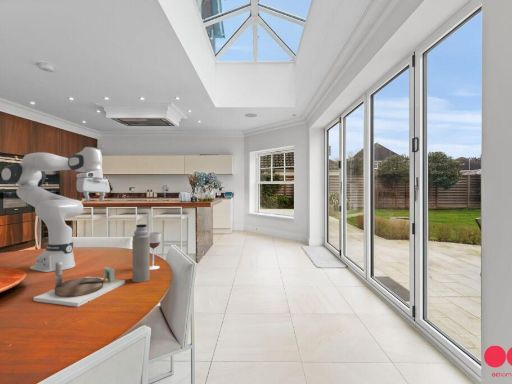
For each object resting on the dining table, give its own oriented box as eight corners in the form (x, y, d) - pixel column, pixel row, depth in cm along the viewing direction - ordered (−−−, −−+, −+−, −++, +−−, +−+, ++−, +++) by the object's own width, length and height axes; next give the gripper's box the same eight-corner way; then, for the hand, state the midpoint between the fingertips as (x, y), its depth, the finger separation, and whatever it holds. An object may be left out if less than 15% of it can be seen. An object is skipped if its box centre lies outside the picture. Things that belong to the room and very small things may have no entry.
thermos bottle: (140, 276, 145) (140, 223, 145) (152, 278, 143) (153, 224, 142) (128, 281, 138) (129, 225, 137) (141, 283, 135) (142, 226, 135)
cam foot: (111, 279, 134) (111, 255, 134) (103, 293, 117) (103, 265, 116) (63, 283, 128) (63, 257, 127) (46, 298, 110) (47, 268, 110)
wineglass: (152, 270, 155) (152, 235, 155) (142, 268, 160) (142, 233, 160) (163, 267, 162) (164, 233, 162) (153, 264, 167) (154, 231, 166)
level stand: (33, 300, 112) (33, 282, 112) (87, 279, 139) (87, 264, 139) (77, 306, 108) (78, 287, 108) (124, 283, 134) (124, 268, 134)
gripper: (102, 178, 163) (103, 201, 163) (73, 174, 143) (74, 201, 143) (112, 177, 162) (113, 200, 161) (84, 173, 142) (85, 199, 141)
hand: (94, 200), depth 152 cm, fingers open, 8 cm apart
